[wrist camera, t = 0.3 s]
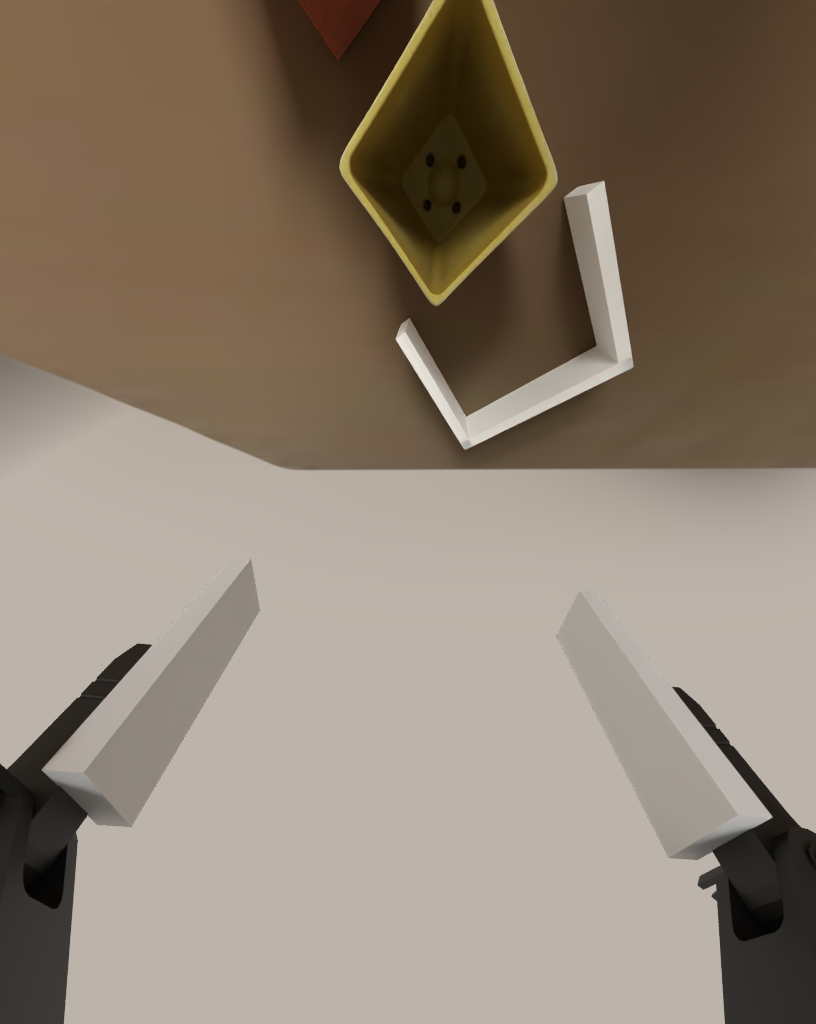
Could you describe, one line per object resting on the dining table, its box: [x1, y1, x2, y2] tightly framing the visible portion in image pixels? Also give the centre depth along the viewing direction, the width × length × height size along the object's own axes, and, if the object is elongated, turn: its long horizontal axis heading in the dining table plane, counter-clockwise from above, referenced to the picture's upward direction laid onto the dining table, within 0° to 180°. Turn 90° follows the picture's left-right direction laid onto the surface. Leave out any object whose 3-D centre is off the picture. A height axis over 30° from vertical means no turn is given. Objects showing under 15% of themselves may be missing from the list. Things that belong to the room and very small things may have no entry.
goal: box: [396, 181, 634, 450], centre depth 27 cm, size 16×13×5 cm
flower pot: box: [339, 0, 558, 306], centre depth 19 cm, size 9×9×9 cm
